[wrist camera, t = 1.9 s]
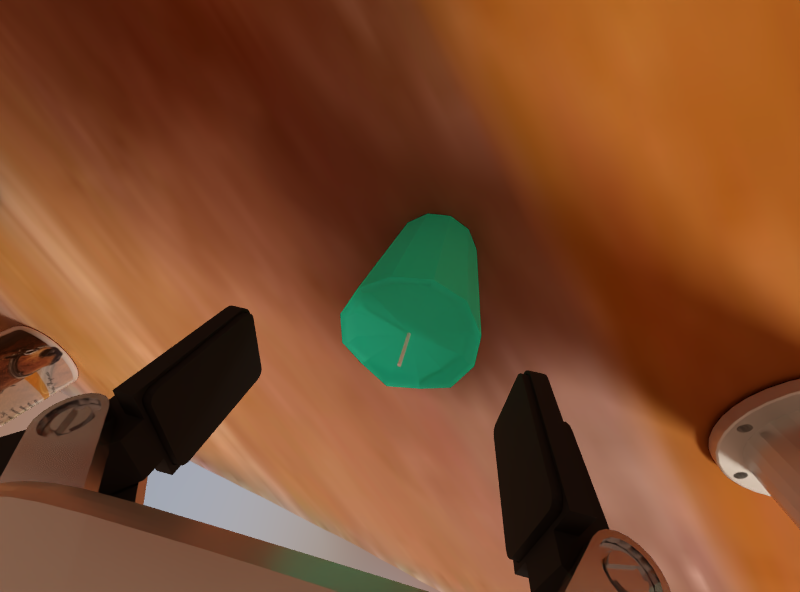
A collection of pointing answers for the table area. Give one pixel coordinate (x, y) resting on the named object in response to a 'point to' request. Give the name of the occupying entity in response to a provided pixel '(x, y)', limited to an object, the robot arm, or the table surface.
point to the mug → (30, 370)
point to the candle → (418, 307)
